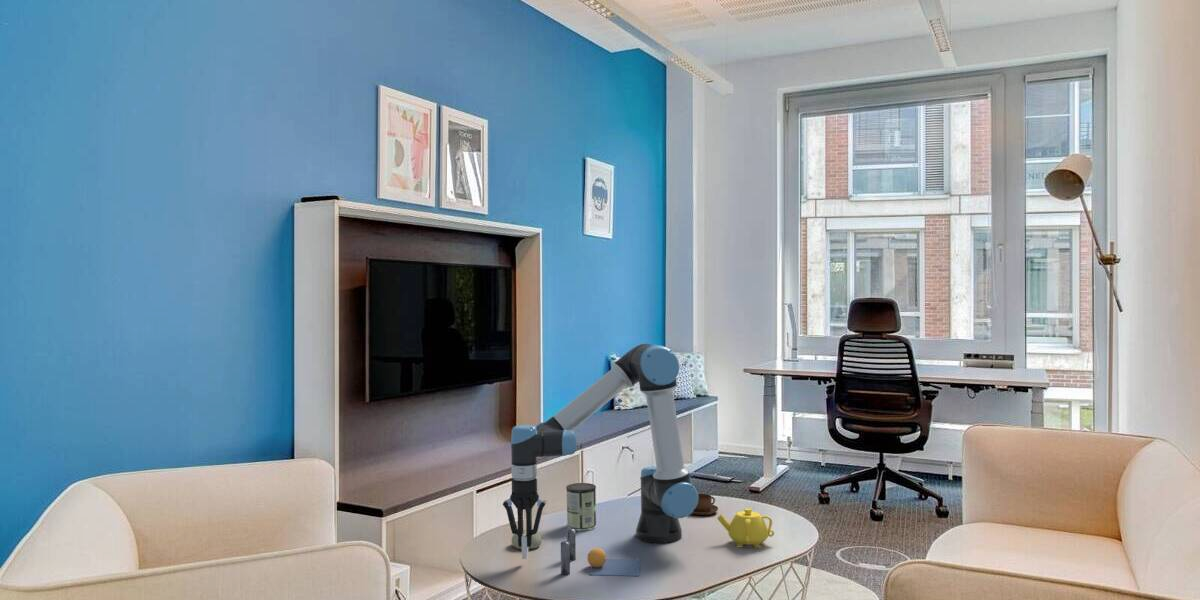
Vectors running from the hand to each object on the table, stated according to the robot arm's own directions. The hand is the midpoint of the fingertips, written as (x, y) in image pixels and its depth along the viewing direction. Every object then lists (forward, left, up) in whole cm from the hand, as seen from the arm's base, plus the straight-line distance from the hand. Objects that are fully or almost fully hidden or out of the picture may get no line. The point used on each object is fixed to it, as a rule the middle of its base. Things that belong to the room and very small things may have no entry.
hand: (525, 557), depth 234 cm
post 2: (-13, -6, -2) cm, 15 cm away
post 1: (-13, +6, -2) cm, 15 cm away
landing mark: (-27, 0, -2) cm, 27 cm away
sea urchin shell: (+3, -18, -3) cm, 18 cm away
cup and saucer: (-54, -61, -3) cm, 81 cm away
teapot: (-67, -26, -3) cm, 72 cm away
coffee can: (-12, -40, -3) cm, 42 cm away
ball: (-21, 0, 0) cm, 22 cm away
